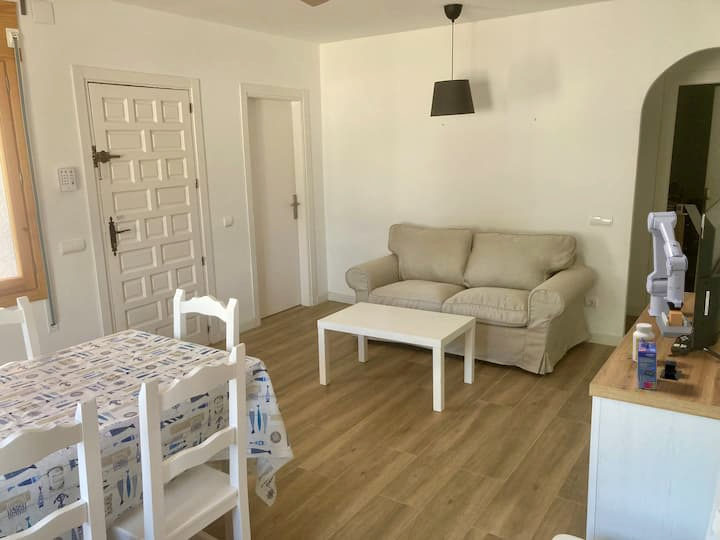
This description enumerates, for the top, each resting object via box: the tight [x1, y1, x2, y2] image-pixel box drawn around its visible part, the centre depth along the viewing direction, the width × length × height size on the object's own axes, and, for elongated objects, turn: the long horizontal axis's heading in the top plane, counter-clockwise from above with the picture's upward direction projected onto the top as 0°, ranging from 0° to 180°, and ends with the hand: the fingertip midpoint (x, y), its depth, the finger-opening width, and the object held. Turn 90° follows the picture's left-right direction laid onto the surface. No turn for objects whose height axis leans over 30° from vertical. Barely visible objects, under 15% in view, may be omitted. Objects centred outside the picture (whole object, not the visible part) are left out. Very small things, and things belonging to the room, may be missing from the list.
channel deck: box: [655, 312, 693, 338], centre depth 225 cm, size 22×11×4 cm, turn 160°
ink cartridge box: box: [636, 338, 658, 391], centre depth 176 cm, size 10×6×14 cm, turn 155°
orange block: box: [669, 310, 683, 326], centre depth 224 cm, size 4×4×5 cm
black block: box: [659, 360, 683, 382], centre depth 182 cm, size 12×7×5 cm, turn 145°
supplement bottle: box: [632, 322, 656, 363], centre depth 194 cm, size 7×7×13 cm
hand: (674, 320), depth 227 cm, fingers closed, pressing on orange block
